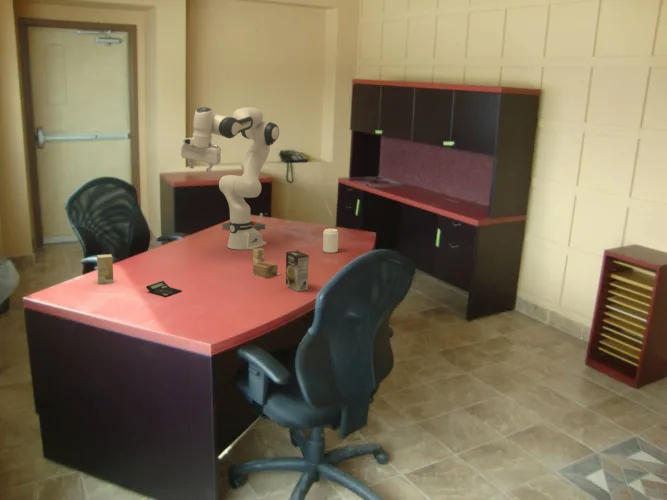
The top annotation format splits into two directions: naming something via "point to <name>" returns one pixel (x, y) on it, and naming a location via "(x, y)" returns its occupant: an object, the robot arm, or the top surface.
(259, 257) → the oak block
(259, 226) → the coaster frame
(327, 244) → the beverage can
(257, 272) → the walnut brick
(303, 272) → the coffee box
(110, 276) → the skincare box
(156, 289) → the calculator
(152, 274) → the top surface
